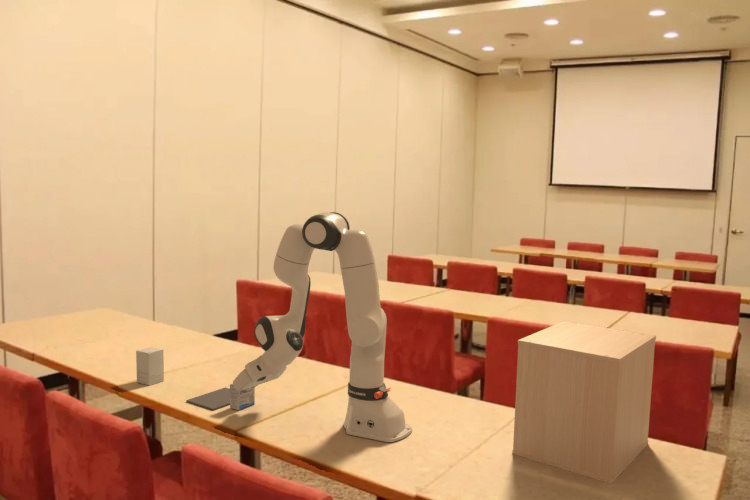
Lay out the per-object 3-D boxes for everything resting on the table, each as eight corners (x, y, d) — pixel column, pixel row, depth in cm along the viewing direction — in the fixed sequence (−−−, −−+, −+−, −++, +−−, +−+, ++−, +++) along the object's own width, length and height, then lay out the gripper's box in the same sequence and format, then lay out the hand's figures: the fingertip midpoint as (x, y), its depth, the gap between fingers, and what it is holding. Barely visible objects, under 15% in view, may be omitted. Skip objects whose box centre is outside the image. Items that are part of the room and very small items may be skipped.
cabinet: (558, 420, 218) (564, 320, 214) (648, 443, 200) (656, 335, 197) (512, 453, 191) (517, 339, 187) (611, 483, 173) (620, 358, 169)
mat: (251, 396, 234) (251, 395, 234) (213, 410, 219) (213, 408, 219) (225, 388, 242) (225, 387, 242) (186, 401, 227) (186, 400, 227)
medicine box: (239, 411, 220) (239, 386, 219) (229, 408, 222) (229, 383, 221) (255, 404, 226) (255, 380, 225) (245, 402, 229) (245, 378, 228)
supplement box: (164, 381, 249) (164, 349, 248) (148, 386, 243) (148, 353, 242) (152, 377, 253) (151, 346, 252) (136, 382, 247) (135, 350, 246)
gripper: (286, 352, 224) (265, 373, 231) (242, 364, 208) (221, 388, 214) (295, 366, 222) (274, 388, 229) (252, 381, 206) (231, 404, 212)
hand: (248, 388), depth 222 cm, fingers closed
